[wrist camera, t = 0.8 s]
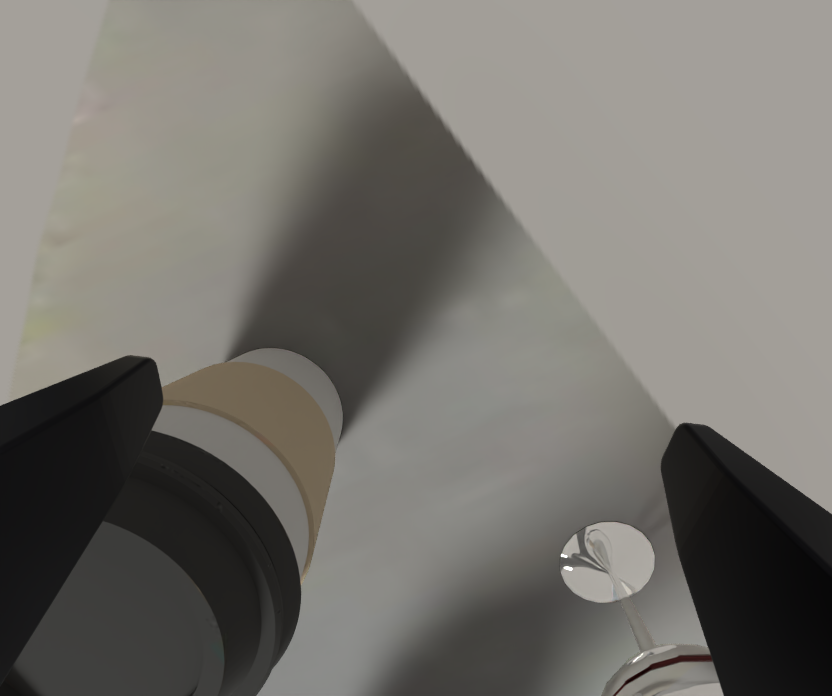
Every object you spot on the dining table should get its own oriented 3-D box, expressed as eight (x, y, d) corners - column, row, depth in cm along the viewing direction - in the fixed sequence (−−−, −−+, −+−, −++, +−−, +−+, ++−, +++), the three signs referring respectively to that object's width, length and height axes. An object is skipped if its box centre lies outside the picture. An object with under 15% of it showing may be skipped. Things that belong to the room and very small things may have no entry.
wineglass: (532, 519, 27) (602, 746, 15) (664, 495, 26) (842, 713, 15) (554, 625, 29) (632, 905, 17) (679, 605, 28) (851, 883, 16)
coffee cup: (310, 295, 25) (124, 404, 10) (396, 452, 26) (343, 737, 12) (156, 373, 26) (-206, 570, 11) (247, 518, 28) (35, 847, 13)
